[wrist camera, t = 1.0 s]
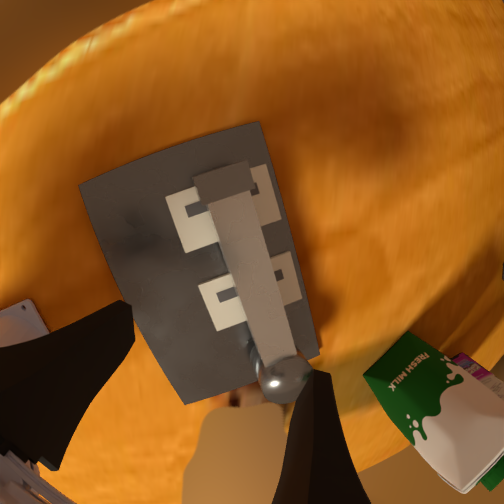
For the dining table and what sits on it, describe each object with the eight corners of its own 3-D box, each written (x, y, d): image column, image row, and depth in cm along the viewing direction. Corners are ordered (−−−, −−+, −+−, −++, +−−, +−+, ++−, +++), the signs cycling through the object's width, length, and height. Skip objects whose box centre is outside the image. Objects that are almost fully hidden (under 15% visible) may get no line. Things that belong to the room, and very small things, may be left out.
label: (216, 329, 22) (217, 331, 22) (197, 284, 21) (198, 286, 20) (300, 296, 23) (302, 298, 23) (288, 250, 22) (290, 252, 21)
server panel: (184, 400, 24) (184, 405, 23) (81, 185, 17) (78, 185, 17) (317, 351, 26) (320, 354, 25) (256, 122, 19) (259, 121, 19)
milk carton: (380, 404, 31) (470, 509, 12) (352, 376, 28) (467, 512, 9) (429, 356, 31) (533, 443, 12) (410, 318, 28) (548, 421, 9)
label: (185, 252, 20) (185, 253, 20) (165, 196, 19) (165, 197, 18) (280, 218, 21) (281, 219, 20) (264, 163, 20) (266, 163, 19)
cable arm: (300, 361, 24) (318, 390, 20) (257, 378, 24) (270, 410, 20) (241, 160, 19) (257, 157, 15) (183, 179, 18) (184, 180, 14)
